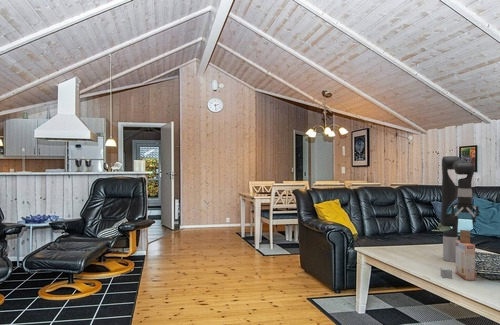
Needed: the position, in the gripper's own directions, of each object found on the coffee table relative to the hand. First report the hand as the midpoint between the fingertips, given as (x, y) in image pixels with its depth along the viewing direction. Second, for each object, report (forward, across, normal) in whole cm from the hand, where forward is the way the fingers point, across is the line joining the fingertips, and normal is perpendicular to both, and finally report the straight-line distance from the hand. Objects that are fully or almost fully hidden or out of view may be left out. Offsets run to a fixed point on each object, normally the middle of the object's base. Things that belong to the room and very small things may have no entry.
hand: (464, 222), depth 216 cm
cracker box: (+33, 0, 0) cm, 33 cm away
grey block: (+33, +10, +6) cm, 35 cm away
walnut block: (+12, 0, 0) cm, 12 cm away
